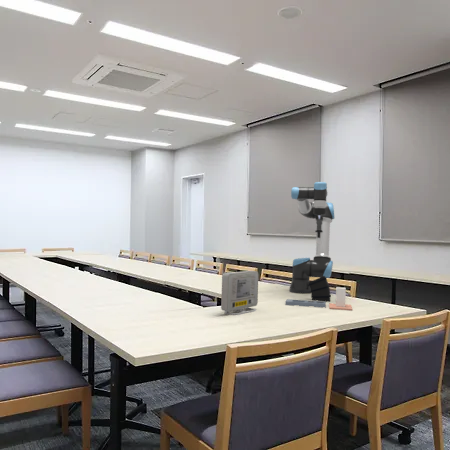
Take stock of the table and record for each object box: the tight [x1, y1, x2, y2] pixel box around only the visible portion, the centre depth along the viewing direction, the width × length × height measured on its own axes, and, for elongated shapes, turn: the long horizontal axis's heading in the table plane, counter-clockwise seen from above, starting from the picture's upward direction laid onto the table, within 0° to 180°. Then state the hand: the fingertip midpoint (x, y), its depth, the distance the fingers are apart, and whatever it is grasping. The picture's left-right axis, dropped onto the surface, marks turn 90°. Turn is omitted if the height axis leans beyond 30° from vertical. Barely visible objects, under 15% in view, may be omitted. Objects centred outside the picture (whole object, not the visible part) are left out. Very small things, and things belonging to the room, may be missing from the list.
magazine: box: [308, 276, 332, 302], centre depth 260 cm, size 4×13×15 cm, turn 66°
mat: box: [328, 302, 353, 311], centre depth 238 cm, size 14×12×1 cm
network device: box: [220, 270, 259, 316], centre depth 217 cm, size 26×9×20 cm, turn 141°
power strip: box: [284, 298, 327, 308], centre depth 242 cm, size 8×22×2 cm, turn 77°
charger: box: [335, 286, 347, 307], centre depth 238 cm, size 4×5×10 cm
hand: (318, 243), depth 258 cm, fingers open, 13 cm apart
